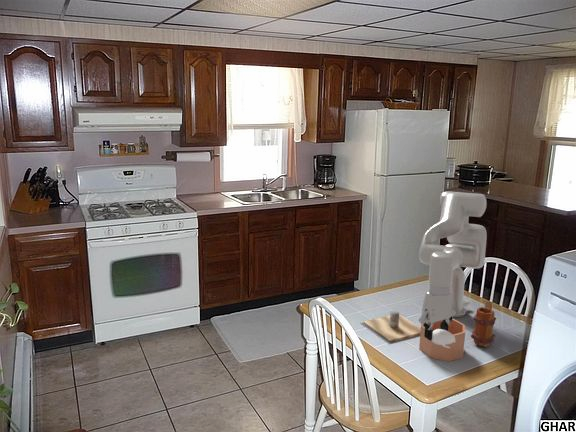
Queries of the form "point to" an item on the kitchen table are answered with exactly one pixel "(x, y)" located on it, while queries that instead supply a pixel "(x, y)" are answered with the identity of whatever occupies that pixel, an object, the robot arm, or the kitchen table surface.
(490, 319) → the mug
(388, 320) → the lid
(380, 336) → the mat
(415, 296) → the kitchen table surface
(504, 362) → the kitchen table surface
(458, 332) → the bowl
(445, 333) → the garlic
